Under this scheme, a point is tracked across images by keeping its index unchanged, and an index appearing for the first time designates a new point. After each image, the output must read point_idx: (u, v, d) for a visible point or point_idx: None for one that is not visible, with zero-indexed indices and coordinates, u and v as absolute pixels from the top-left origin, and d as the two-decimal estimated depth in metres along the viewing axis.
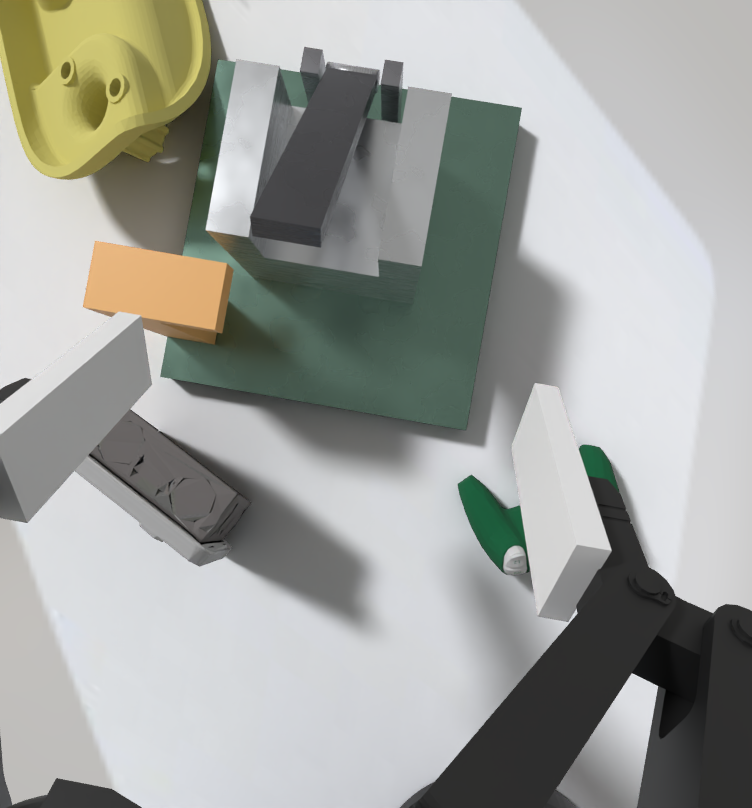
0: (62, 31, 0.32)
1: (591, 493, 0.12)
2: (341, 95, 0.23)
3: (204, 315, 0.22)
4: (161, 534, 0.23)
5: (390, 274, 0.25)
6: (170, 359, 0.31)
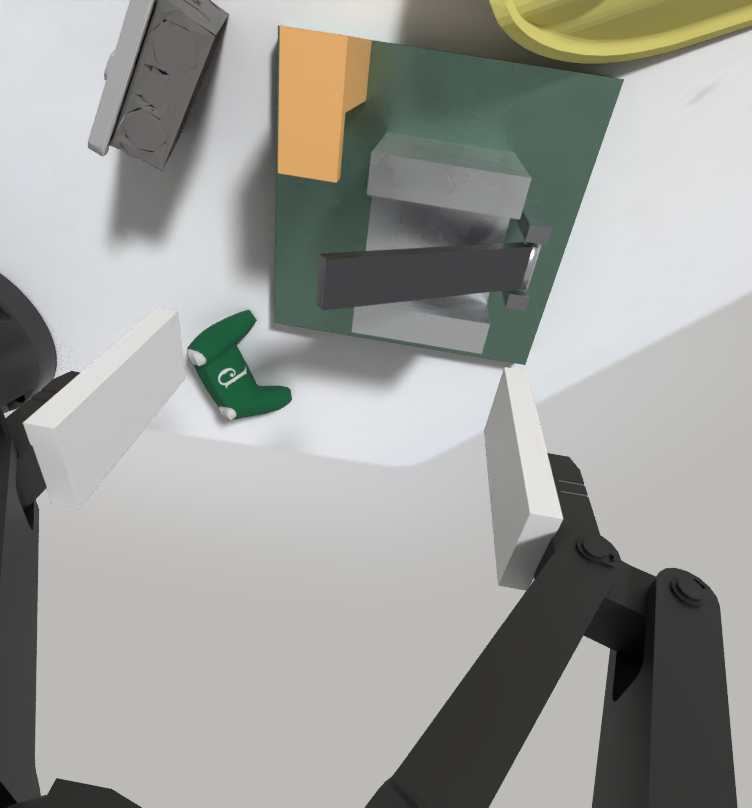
0: None
1: (549, 467, 0.13)
2: (490, 271, 0.28)
3: (289, 162, 0.25)
4: (100, 113, 0.26)
5: None
6: None
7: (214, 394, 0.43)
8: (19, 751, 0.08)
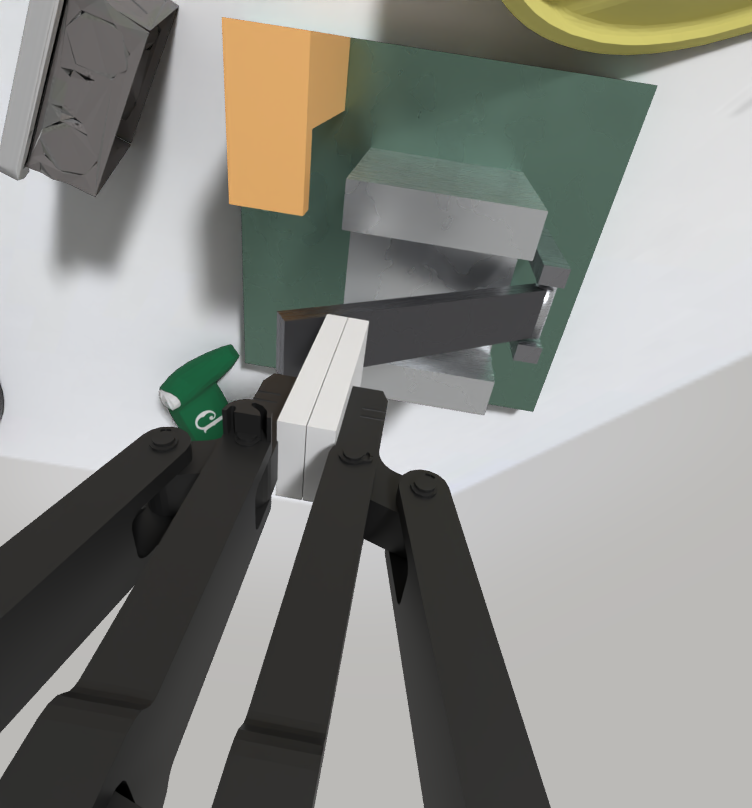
0: None
1: (345, 394, 0.14)
2: (495, 321, 0.23)
3: (242, 191, 0.20)
4: (8, 129, 0.21)
5: None
6: None
7: (191, 439, 0.37)
8: (161, 755, 0.08)
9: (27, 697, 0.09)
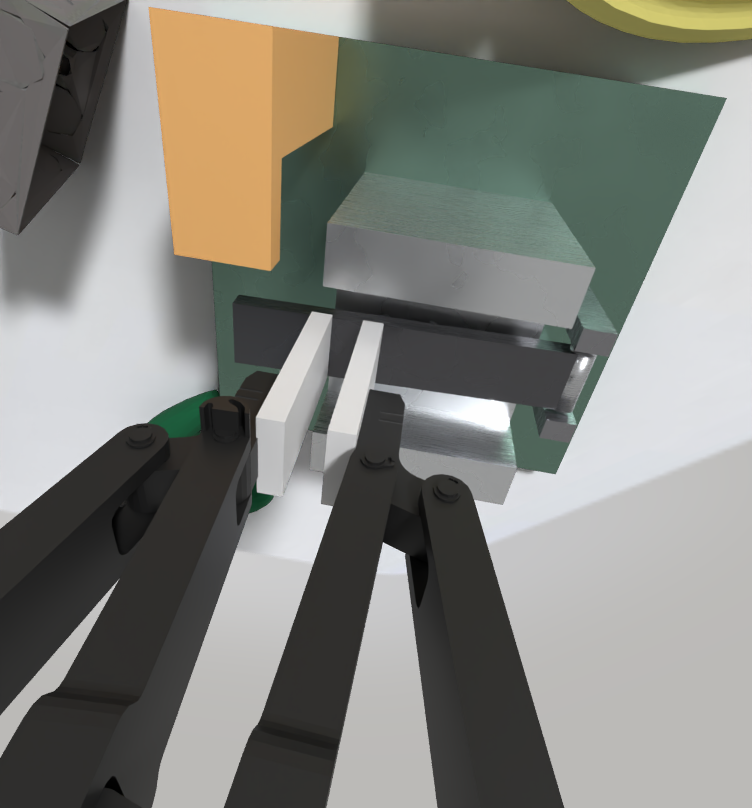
0: None
1: (364, 397, 0.14)
2: (496, 372, 0.19)
3: (190, 238, 0.15)
4: None
5: None
6: None
7: None
8: (149, 751, 0.08)
9: (11, 697, 0.09)
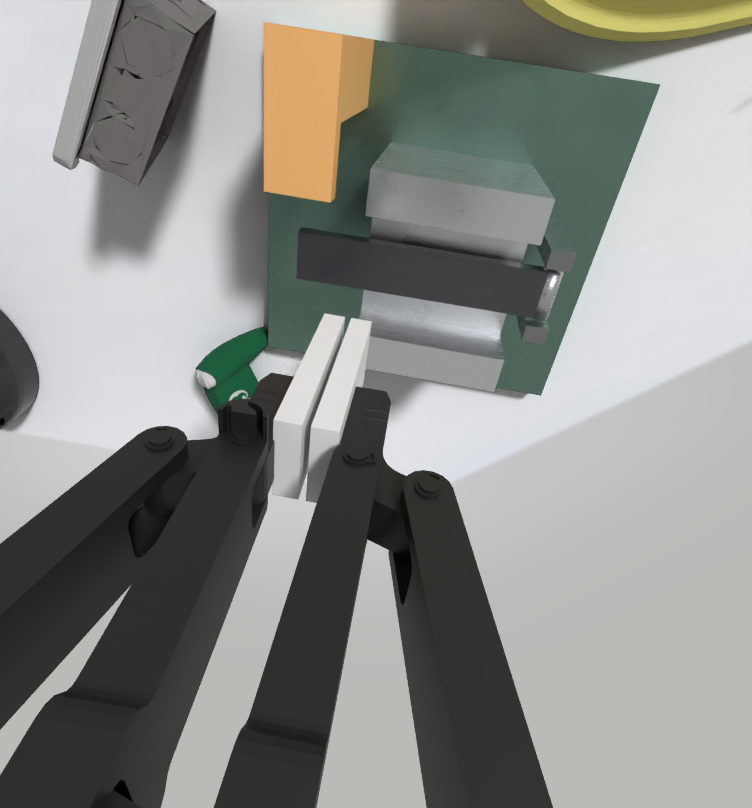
0: None
1: (349, 394, 0.14)
2: (488, 287, 0.26)
3: (276, 179, 0.22)
4: (65, 122, 0.23)
5: None
6: None
7: None
8: (158, 755, 0.08)
9: (24, 697, 0.09)
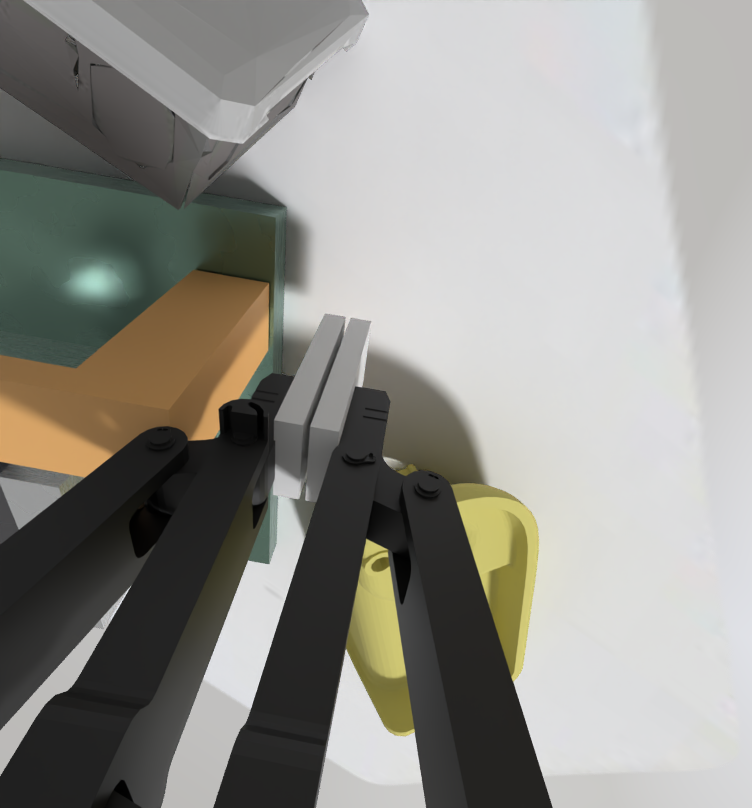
0: None
1: (348, 394, 0.14)
2: None
3: None
4: None
5: None
6: (264, 246, 0.19)
7: None
8: (159, 755, 0.08)
9: (24, 697, 0.09)
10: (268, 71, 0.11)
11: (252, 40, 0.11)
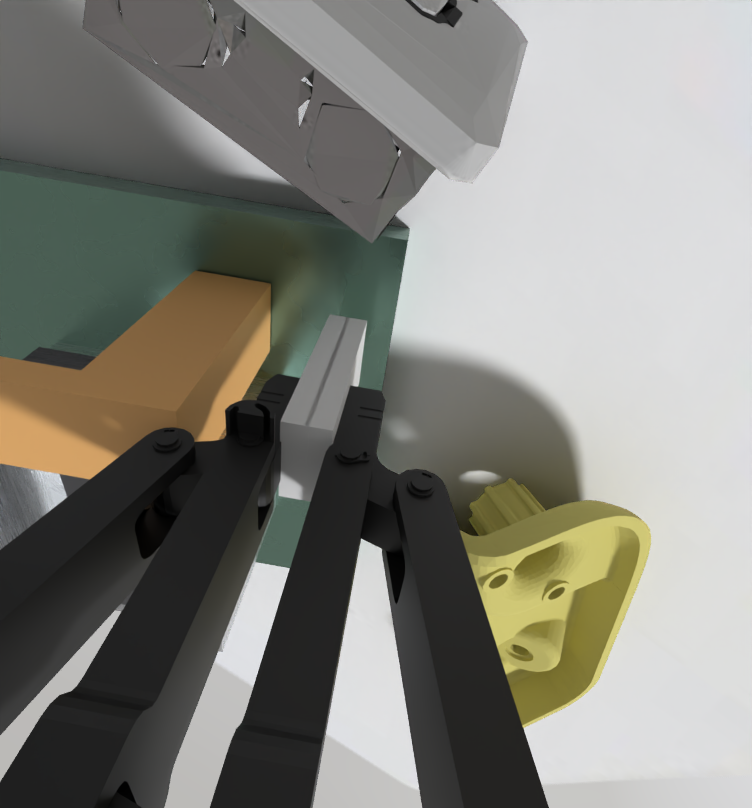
0: (550, 606, 0.29)
1: (343, 393, 0.14)
2: None
3: None
4: None
5: None
6: (391, 268, 0.19)
7: None
8: (162, 756, 0.08)
9: (30, 698, 0.09)
10: (496, 109, 0.11)
11: (477, 78, 0.11)
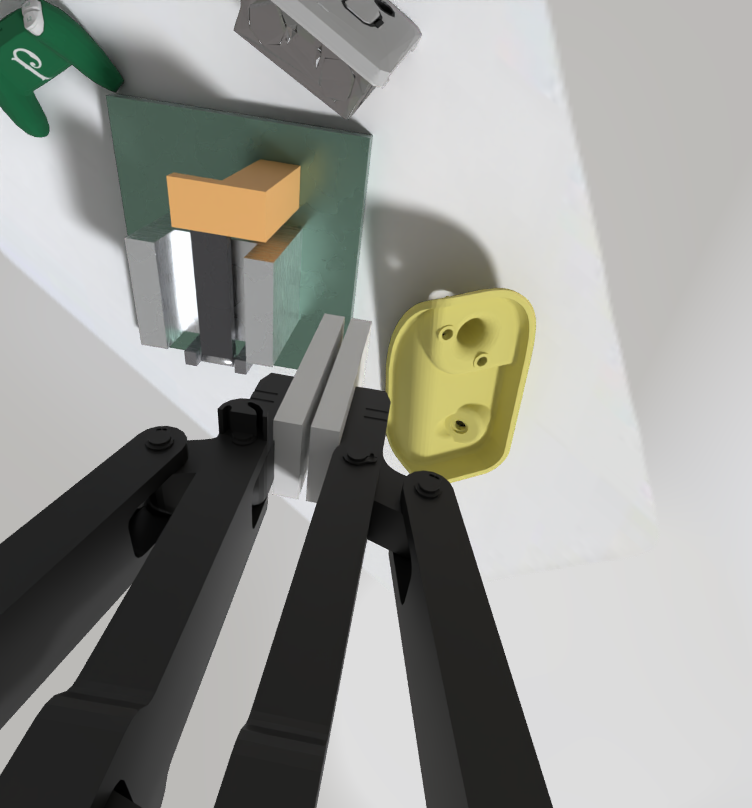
0: (480, 390, 0.46)
1: (349, 394, 0.14)
2: (214, 326, 0.38)
3: (176, 187, 0.30)
4: None
5: (160, 231, 0.35)
6: (362, 154, 0.36)
7: None
8: (159, 754, 0.08)
9: (24, 697, 0.09)
10: (391, 59, 0.28)
11: (385, 48, 0.28)
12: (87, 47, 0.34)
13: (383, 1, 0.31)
